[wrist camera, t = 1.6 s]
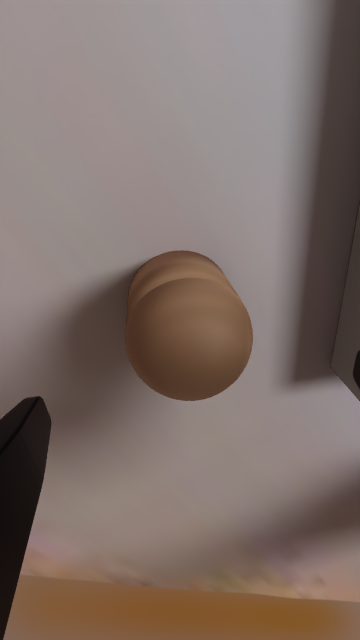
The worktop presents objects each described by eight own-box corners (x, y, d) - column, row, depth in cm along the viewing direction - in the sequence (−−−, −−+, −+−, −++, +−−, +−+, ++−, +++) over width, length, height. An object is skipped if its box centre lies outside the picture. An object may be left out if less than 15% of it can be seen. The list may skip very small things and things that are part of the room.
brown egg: (229, 335, 15) (269, 418, 10) (137, 348, 15) (135, 439, 10) (228, 244, 13) (276, 297, 8) (119, 257, 12) (107, 320, 8)
